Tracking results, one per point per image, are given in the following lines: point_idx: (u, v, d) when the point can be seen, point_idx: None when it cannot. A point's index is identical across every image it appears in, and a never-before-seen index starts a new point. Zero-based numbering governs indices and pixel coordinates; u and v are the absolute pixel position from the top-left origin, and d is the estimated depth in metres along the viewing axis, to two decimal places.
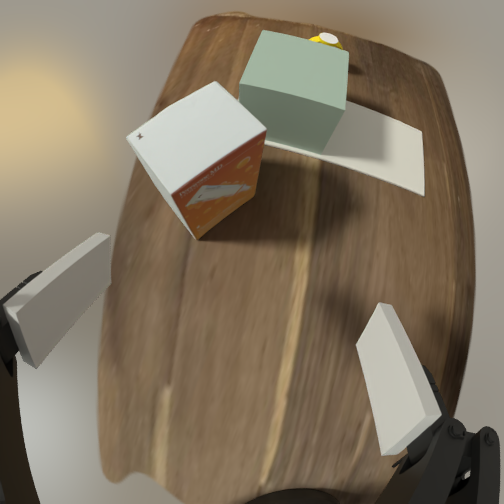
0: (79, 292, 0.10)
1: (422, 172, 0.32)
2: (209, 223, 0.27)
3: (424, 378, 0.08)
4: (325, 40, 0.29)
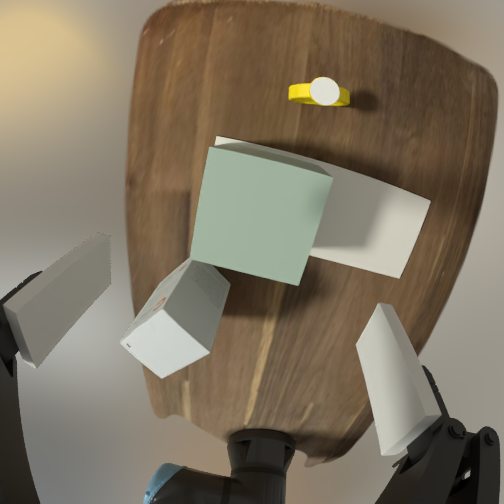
0: (79, 292, 0.10)
1: (408, 254, 0.32)
2: None
3: (424, 378, 0.08)
4: (317, 101, 0.22)
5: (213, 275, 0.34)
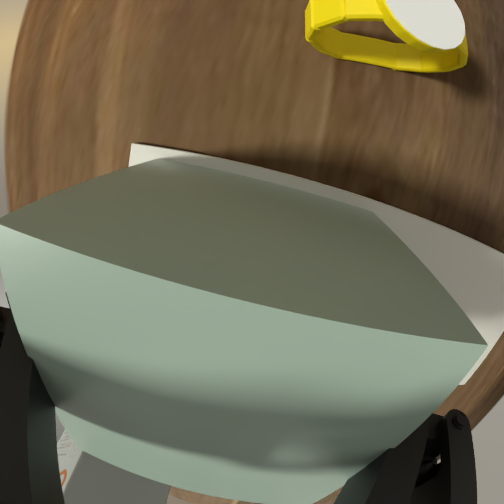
0: None
1: (486, 353, 0.15)
2: None
3: None
4: (411, 29, 0.04)
5: None
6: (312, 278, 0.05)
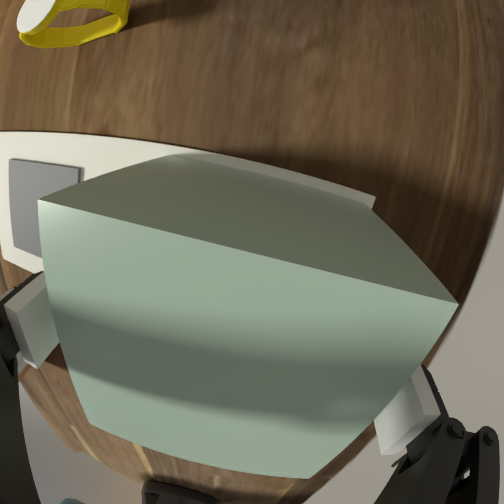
0: None
1: None
2: (29, 367, 0.20)
3: (423, 377, 0.08)
4: (22, 29, 0.06)
5: None
6: (306, 244, 0.06)
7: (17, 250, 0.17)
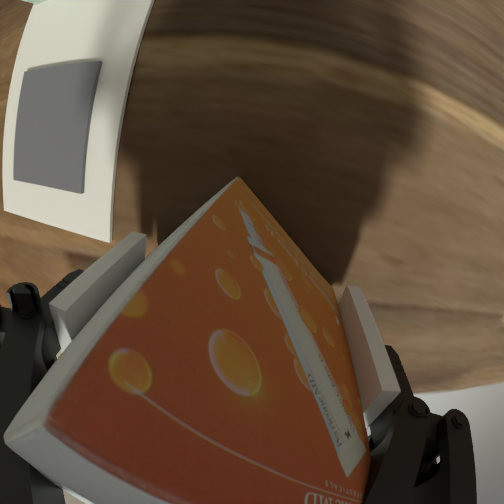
0: None
1: None
2: (319, 286, 0.13)
3: (385, 355, 0.09)
4: None
5: None
6: None
7: (90, 192, 0.14)
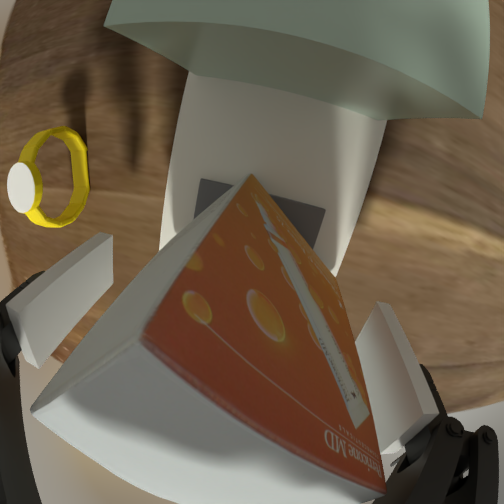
0: (81, 292, 0.10)
1: None
2: (323, 273, 0.14)
3: (422, 376, 0.08)
4: (32, 199, 0.11)
5: (201, 213, 0.14)
6: None
7: None
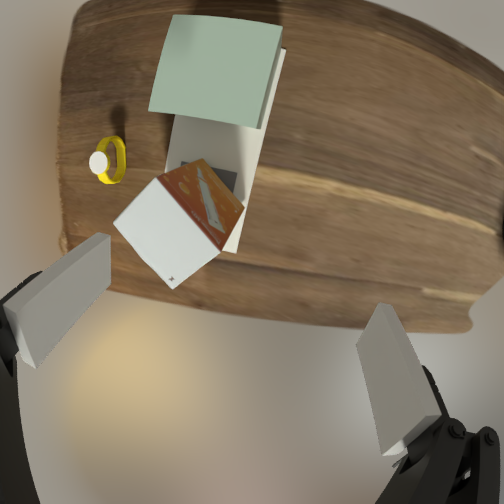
0: (79, 292, 0.10)
1: None
2: (231, 200, 0.31)
3: (424, 378, 0.08)
4: (105, 167, 0.28)
5: None
6: None
7: None
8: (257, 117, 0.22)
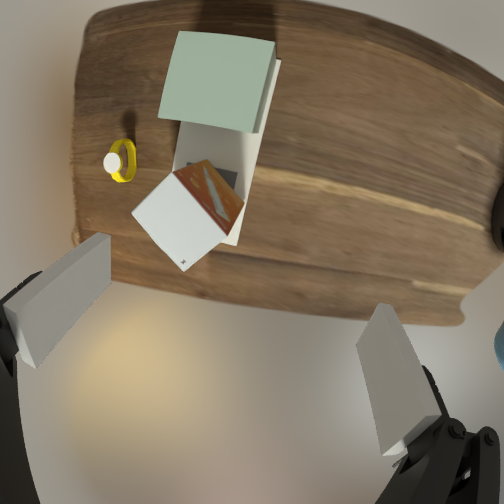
0: (79, 292, 0.10)
1: None
2: (233, 195, 0.35)
3: (424, 378, 0.08)
4: (118, 167, 0.32)
5: None
6: None
7: None
8: (253, 123, 0.25)
